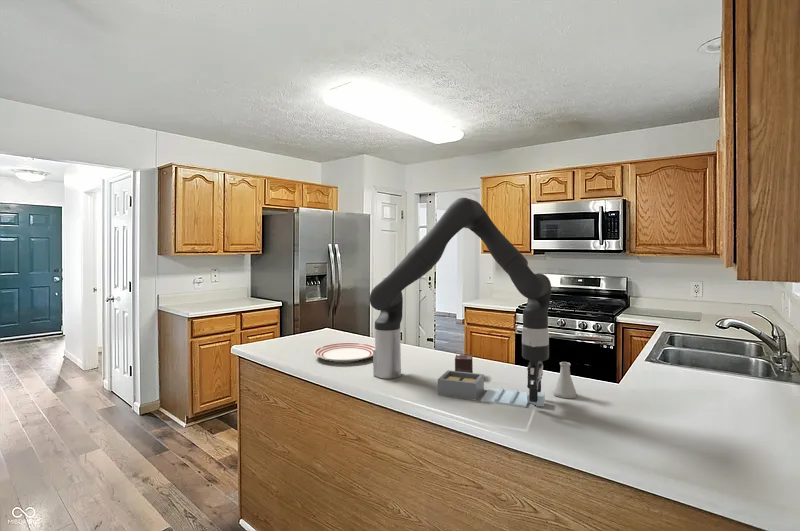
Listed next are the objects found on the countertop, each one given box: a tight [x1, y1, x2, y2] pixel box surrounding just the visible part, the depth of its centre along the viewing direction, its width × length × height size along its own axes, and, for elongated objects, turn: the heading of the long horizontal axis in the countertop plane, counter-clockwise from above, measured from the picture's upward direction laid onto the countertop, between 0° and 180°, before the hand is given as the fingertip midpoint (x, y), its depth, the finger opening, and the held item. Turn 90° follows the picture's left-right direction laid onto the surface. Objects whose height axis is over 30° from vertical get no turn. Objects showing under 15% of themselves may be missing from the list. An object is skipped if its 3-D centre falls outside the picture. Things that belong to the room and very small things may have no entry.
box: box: [454, 354, 474, 373], centre depth 153 cm, size 6×6×7 cm
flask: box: [552, 361, 578, 399], centre depth 134 cm, size 7×7×10 cm
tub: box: [437, 369, 485, 401], centre depth 136 cm, size 12×10×6 cm
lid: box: [480, 387, 546, 408], centre depth 130 cm, size 17×11×3 cm, turn 66°
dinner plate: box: [313, 341, 375, 363], centre depth 184 cm, size 27×27×3 cm
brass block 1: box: [447, 376, 461, 381], centre depth 137 cm, size 4×4×4 cm
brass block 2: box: [462, 378, 476, 382], centre depth 135 cm, size 4×4×4 cm
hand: (535, 396), depth 127 cm, fingers open, 8 cm apart
